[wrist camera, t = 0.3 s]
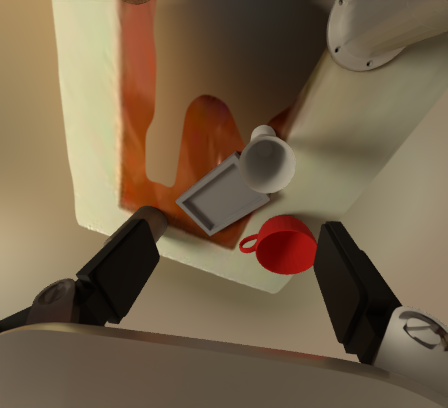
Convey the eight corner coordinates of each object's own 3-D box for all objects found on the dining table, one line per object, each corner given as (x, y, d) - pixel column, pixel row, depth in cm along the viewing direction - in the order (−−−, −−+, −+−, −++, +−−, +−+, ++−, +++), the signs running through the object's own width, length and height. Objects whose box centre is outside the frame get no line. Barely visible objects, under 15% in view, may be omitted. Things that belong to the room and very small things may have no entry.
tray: (236, 150, 40) (234, 154, 38) (270, 194, 44) (270, 200, 41) (179, 196, 48) (175, 201, 46) (212, 229, 52) (209, 236, 50)
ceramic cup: (237, 208, 47) (233, 232, 39) (308, 202, 43) (321, 228, 35) (244, 246, 53) (242, 274, 45) (307, 244, 50) (317, 274, 41)
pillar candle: (135, 201, 52) (94, 237, 39) (168, 211, 51) (138, 249, 39) (137, 228, 57) (101, 266, 44) (167, 236, 57) (140, 277, 44)
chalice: (284, 149, 38) (301, 185, 23) (252, 160, 41) (249, 199, 25) (275, 113, 35) (288, 126, 20) (241, 126, 38) (230, 148, 22)
